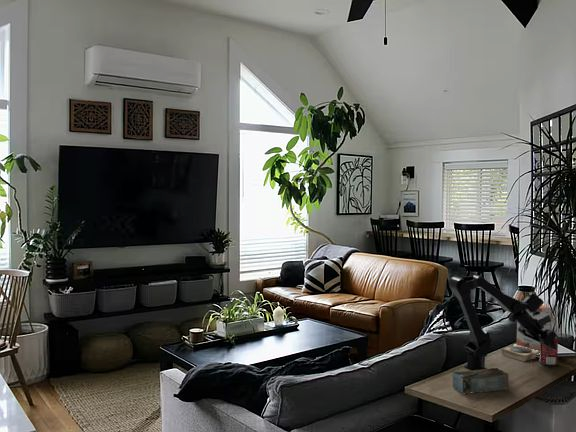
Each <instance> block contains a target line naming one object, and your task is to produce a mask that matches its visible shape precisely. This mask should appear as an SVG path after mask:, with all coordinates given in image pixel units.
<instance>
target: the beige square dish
mask: <svg viewBox="0 0 576 432" xmlns="http://www.w3.org/2000/svg"><path fill="white" fill-rule="evenodd" d="M539 353H540V351H536V350H533V349H530V348H526V347H523V346H520V345H517V344H516V345H512V346H507V347H504V348H501V355H503V356H506V357H508V358H511V359H515V360H518V361H520V362H526V361H530V360H533V359H536V358H535V356H536V355H537V354H539Z"/></svg>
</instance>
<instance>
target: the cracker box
mask: <svg viewBox="0 0 576 432" xmlns="http://www.w3.org/2000/svg"><path fill="white" fill-rule="evenodd" d="M537 311H538V312H545V313H548V314H549V316H550V318H551V317H552V308H551V307H550V306H546V305H544V304H542V306H541V307H540V308H539V309H538V310H537ZM527 312H528V311H527ZM528 313H529V312H528ZM529 314H530V315H531V316H532V318H533V312H532V313H529ZM551 319H552V318H551ZM543 326H544V328H543V329H541V330H543V331H545V330H546V329H550V330H551V322H548V323H547V324H545V325H543ZM519 327H520V324H519V323H518V322H517V321H516V345H520V346H523V347H527V348H530V349H534V350H538V351H540V342H538V341H536V340H533V339H531V338H529V337H527V336H524V335H523V334H521V333H520V332H519V331H518V328H519ZM539 336H540V335H539Z"/></svg>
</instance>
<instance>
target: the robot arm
mask: <svg viewBox="0 0 576 432" xmlns="http://www.w3.org/2000/svg"><path fill="white" fill-rule="evenodd" d="M448 286H449V287H448V288H450V290H451V292H452V294H453V295H454V296H455V297H456V298H457V300H458V302H459V305H460V307H461V310H462V313H463V316H464V318H465V320H466V324H467V326H468V329H469V334H468V338H469V341H468V342H467V343H466V344H465V345H464V350H465V352H467V353H466V354H467V356H466V357H467V358H466V359H467V360H466V365H464V368H465V369H467V370H469V371H473V370H482V369H488V368H487V367H485V366H486V364H485V363H486V357H487V356H488V353H489V352H490V349H491V348H492V342H493V340H492V339H491V336H490V332H489V331H487V330H485V329H483V328H482V325H481V323H480V321H479V318H478V315H477V312H476V310H475V307H474V304H473V302H472V300H471V292H472V290H474V289H476V288H477V289H478V288H479V289H481V290H482V291H483V292H485V293H486V294H488V295H489V296H490V297H492V298H493V299H494V300H495V301H496V302H497V304H498V305H499V306H500V307H501V309H503V310H504V311H506V312H509V313H511V314H509V315H508V316H509V317H508V321H510V322H512V323H515V322H516V323H517V322H518V323H519V324H520V327H519V328H518V331H519V332H520V333H521V334H523V335H524V336H527V337H529V338H531V339H533V340H536V341H538V342H541V343H542V344H544V345H546V346H548V347H551V348H553V349H555V350H556V349H557V346H556V343H555V341H554V339H555V337H556V338H557V337H558V333H556V331H554V330H552V329H551V328H550V329H546V330H545V331H543V330H541V329H543V328H544V326H543V325H545V324H547V323H548V322H550V323H551V322H552V318H550V316H549V314H548V313H545V312H538V311H537V310H538V309H539V308H540V307H541V306H542V305H544V304H545V302H544V300H543V299H542V298H540V297H539V296H538V295H536V294H535V293H533V292H529V293H528V294H527V295H526V297H525V298H524V299H523V300H519V299H516V298H514V297H512V296H510V295H507V294H506V293H504V292H503V291H501V290H500V289H499V288H497V287H496V286H495V285H494V284H492V283H490V282H489V281H488V280H487V279H486V278H484V276H481V275H477V274H474V275H469V276H468V275H467V276H452V277H451V278H450V279H449V281H448ZM527 311H528V312H529V313H532V312H533V318H532V316H531V315H530V314H529V313H528V312H527ZM539 335H540V336H539Z"/></svg>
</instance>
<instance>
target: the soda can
mask: <svg viewBox="0 0 576 432" xmlns="http://www.w3.org/2000/svg"><path fill="white" fill-rule="evenodd" d="M554 341H555V343H556V346H557V349H556V350H555V349H553V348H551V347H548V346H546V345H544V344H542V343H541V342H540V357H538V359H539V362H540V363H541V364H542V365H544V366H549V367H550V366H551V367H552V366H556V365H557V364H558V355H559V353H558V350H559V348H558V347H559V344H558V343H559V340H558V339H557V336H556V337H555V339H554Z"/></svg>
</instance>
